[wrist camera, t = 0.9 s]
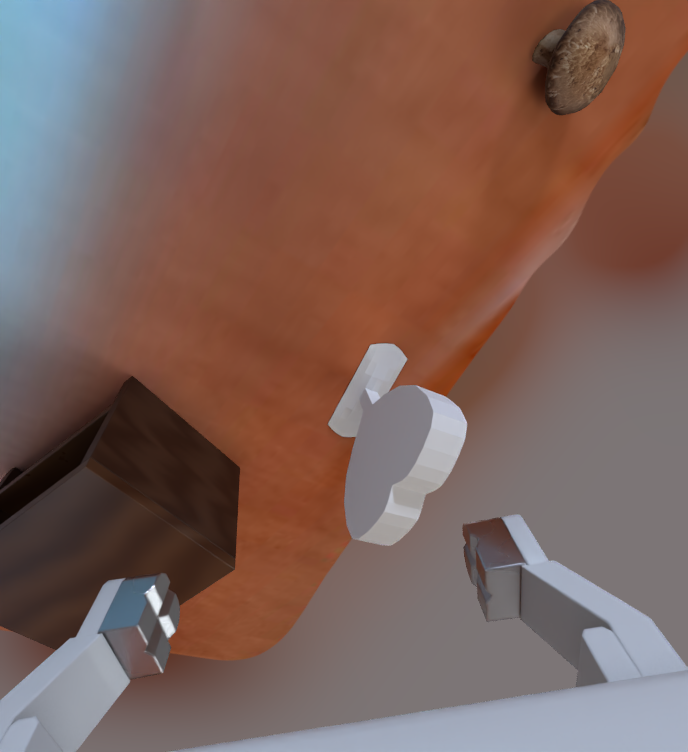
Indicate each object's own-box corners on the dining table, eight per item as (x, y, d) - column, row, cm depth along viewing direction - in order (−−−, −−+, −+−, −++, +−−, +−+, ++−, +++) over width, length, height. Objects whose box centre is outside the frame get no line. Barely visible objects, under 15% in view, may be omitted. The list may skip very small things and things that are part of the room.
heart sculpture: (356, 447, 57) (394, 564, 41) (320, 436, 55) (346, 555, 39) (415, 344, 51) (486, 435, 36) (378, 329, 49) (435, 417, 34)
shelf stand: (7, 472, 50) (-82, 590, 37) (132, 375, 47) (85, 466, 34) (127, 546, 58) (89, 664, 45) (240, 467, 55) (235, 569, 42)
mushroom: (517, 31, 36) (594, 40, 32) (573, -26, 37) (652, -23, 34) (513, 124, 42) (576, 139, 39) (560, 72, 44) (625, 83, 40)
